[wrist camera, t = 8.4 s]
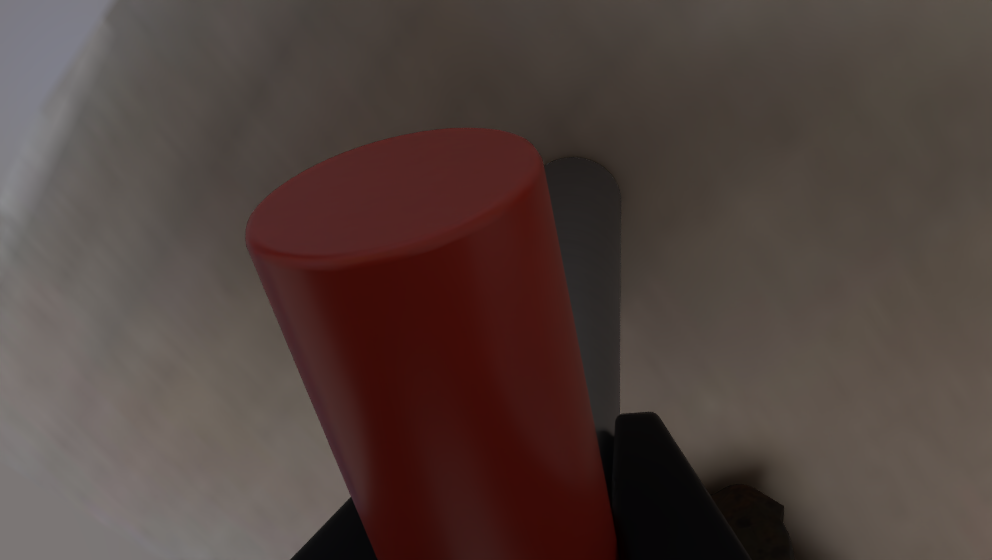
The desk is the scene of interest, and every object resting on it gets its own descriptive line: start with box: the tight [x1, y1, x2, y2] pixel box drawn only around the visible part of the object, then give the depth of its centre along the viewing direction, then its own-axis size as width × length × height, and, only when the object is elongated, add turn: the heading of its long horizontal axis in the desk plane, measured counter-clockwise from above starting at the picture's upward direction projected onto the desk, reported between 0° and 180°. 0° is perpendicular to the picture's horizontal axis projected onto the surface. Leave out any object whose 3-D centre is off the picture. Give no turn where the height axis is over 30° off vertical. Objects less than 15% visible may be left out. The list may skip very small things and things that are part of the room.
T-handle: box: [245, 128, 621, 560], centre depth 10 cm, size 2×8×9 cm, turn 12°
